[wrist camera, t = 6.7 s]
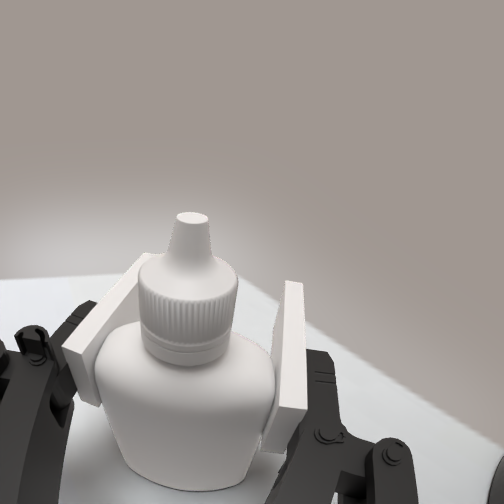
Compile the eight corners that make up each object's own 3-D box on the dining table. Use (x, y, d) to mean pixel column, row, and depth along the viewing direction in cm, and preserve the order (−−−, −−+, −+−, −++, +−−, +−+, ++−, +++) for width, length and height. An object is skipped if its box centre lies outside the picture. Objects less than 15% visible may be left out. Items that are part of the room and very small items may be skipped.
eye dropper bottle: (166, 406, 15) (166, 178, 9) (258, 458, 13) (340, 230, 7) (113, 456, 11) (44, 210, 6) (212, 523, 9) (265, 322, 4)
